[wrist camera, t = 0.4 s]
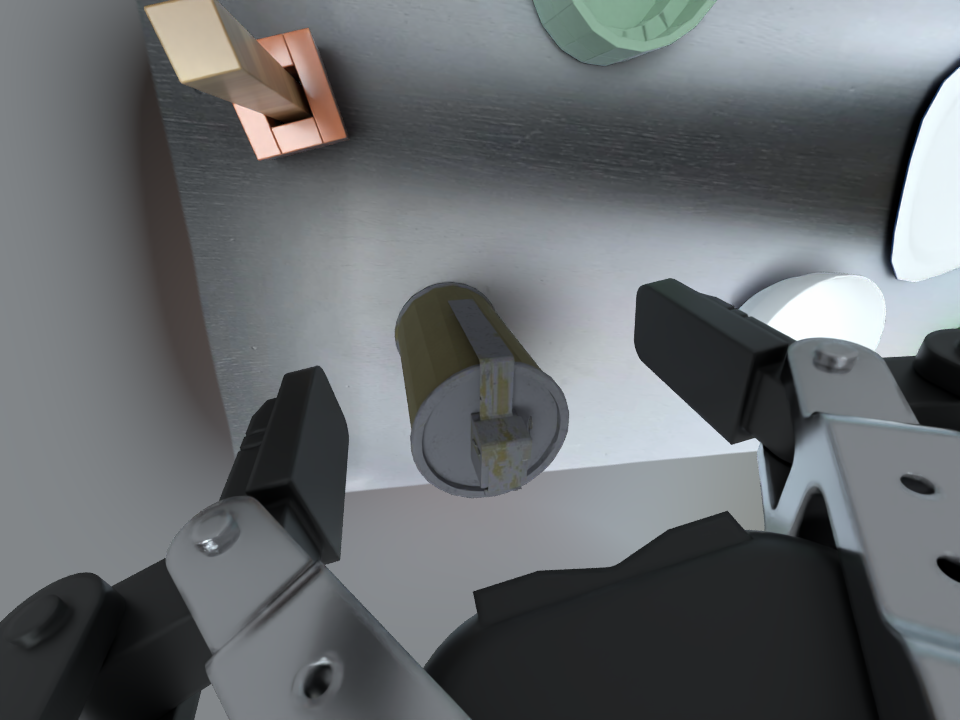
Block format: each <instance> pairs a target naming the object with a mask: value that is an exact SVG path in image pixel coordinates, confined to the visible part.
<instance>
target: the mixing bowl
mask: <svg viewBox="0 0 960 720" xmlns="http://www.w3.org/2000/svg"><path fill="white" fill-rule="evenodd" d="M716 1H717V0H533V2H534V5H535V7H536V10H537V13H538V15H539V18H540V20H541V23H542V25H543V27H544V28H545V29H546V31H547V32H548V33H549V34H550V36H551V37H552V38H553V40H554V41H555V42H556V44H557V45H558V46H559V47H560V48H561V49H562V50H563V51H565V52H566V53H568V54H569V55H571V56H573V57H574V58H576V59H577V60H579V61H580V62H583V63H589V64H595V65H602V66H608V65H611V64H615V63H619V62H623V61H627V60H630V59H633V58H635V57H638V56H641V55H644V54H646V53H649V52H652V51H655V50H657V49H660V48H663V47H666V46H668V45H671V44H672V43H673V42H675V41H676V40H678V39H679V38H681V37H682V36H683V35H685V34H686V33H688V32H689V31H691V30H692V29H693V28H695V27H696V26H697V24H698V23H699V22H700V21H701V20H702V18H703V17H704V16H705V15H706V13H707V12H708V11H709V10H710V8H711V7H712V6H713V5H714V3H715V2H716Z"/></svg>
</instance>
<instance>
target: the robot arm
mask: <svg viewBox="0 0 960 720" xmlns="http://www.w3.org/2000/svg"><path fill="white" fill-rule="evenodd" d="M634 344H635V349H636V352H637V354H638V356H639V358H640V359H641V361H642V362H643V363H644V364H645V365H646V366H647V367H648V368H649V369H651V370H652V371H653V372H654V373H655V374H656V375H657V376H658V377H659V378H660V379H661V380H662V381H663V382H665V383H666V384H667V385H668V386H669V387H670V388H671V389H672V390H673V391H674V392H675V393H676V394H677V395H679V396H680V397H681V398H682V399H683V400H684V401H685V402H686V403H687V404H688V405H689V406H690V407H691V408H692V409H694V410H695V411H696V412H697V413H698V414H699V415H700V416H701V417H702V418H703V419H704V420H705V421H706V422H708V423H709V424H710V425H711V426H712V427H713V428H714V429H715V430H716V431H717V432H718V433H719V434H720V435H722V436H723V437H724V438H725V439H726V440H727V441H728V442H729V443H730V444H731V445H732V444H736V443H739V442H742V441H746V440H749V439H752V438H756V439H757V440H758V441H760V445H759V448H758V451H757V459H758V468H759V477H760V486H761V495H762V504H763V512H764V522H765V531H755V530H744V529H743V528H742V527H741V526H740V524H738V522H737V521H736V520H735V519H734V518H733V517H732V515H731V514H730V513H729V512H728V511H725V512H722V513H719V514H716V515H713V516H710V517H707V518H703V519H700V520H697V521H694V522H691V523H688V524H685V525H681V526H678V527H675V528H672V529H669V530H667V531H666V532H664V533H663V534H661V535H660V536H658V537H657V538H655V539H654V540H652V541H651V542H649V543H648V544H647V545H645V546H644V547H642V548H641V549H639V550H638V551H636V552H635V553H633V554H632V555H631V556H629V557H628V558H626V559H625V560H623V561H622V562H621V563H619V564H617V565H615V566H612V567H606V568H586V569H565V570H545V571H536V572H534V573H530V574H527V575H524V576H521V577H517V578H514V579H511V580H508V581H505V582H502V583H499V584H495V585H492V586H489V587H486V588H483V589H480V590H477V591H474V592H473V594H474V599H475V604H476V609H477V614H475V615H474V616H472V617H471V618H469V619H468V620H467V621H465V622H464V623H463V624H461V625H460V626H459V627H458V628H457V629H456V630H455V631H453V632H452V633H451V634H450V635H449V636H448V637H447V638H446V639H445V641H444V642H443V643H442V644H441V645H440V646H439V647H438V648H437V650H436V651H435V652H434V654H433V655H432V656H431V658H430V659H429V660H428V662H427V663H426V664H425V666H424V668H422V667H421V666H420V665H419V664H418V663H417V662H416V661H415V660H414V658H413V657H412V656H411V655H410V654H409V653H408V652H407V651H406V650H405V649H404V648H403V647H402V646H401V645H400V644H399V643H398V642H397V641H396V639H395V638H394V637H393V636H392V635H391V634H390V633H389V632H388V631H387V630H386V629H385V628H384V627H383V626H382V625H381V624H380V623H379V622H378V620H377V619H376V618H375V617H374V616H373V615H372V614H371V613H370V612H369V611H368V610H367V609H366V608H365V607H364V606H363V605H362V604H361V603H360V602H359V601H358V599H356V598H355V596H354V595H353V594H352V593H351V592H350V591H349V590H348V589H347V588H346V587H345V586H344V585H343V584H342V583H341V582H340V581H339V579H338V578H337V577H336V576H335V575H334V574H333V573H332V572H331V571H330V570H329V569H328V568H327V567H326V566H325V565H326V564H329V563H333V562H336V561H339V560H340V554H341V553H340V552H341V540H342V527H343V513H344V499H345V486H346V472H347V459H348V445H349V434H348V428H347V424H346V420H345V417H344V415H343V412H342V410H341V408H340V406H339V404H338V401H337V399H336V397H335V395H334V392H333V390H332V388H331V386H330V384H329V381H328V379H327V377H326V375H325V373H324V371H323V369H322V368H321V367H320V366H314V367H310V368H306V369H302V370H298V371H294V372H290V373H287V374H285V375H284V377H283V380H282V383H281V386H280V389H279V392H278V395H277V398H273V399H269V400H267V401H266V402H265V403H264V404H263V405H262V406H261V408H260V409H259V410H258V411H257V412H256V413H255V414H254V415H253V416H252V419H251V421H250V424H249V426H248V429H247V431H246V437H244V439H243V441H242V444H241V446H240V449H241V451H239V452H238V454H237V457H236V459H235V462H234V464H233V467H232V470H231V472H230V474H229V477H228V479H227V482H226V484H225V487H224V489H223V492H222V495H221V497H220V500H219V502H216V503H214V504H212V505H211V506H209V507H207V508H205V509H204V510H203V511H201V512H199V513H198V514H197V515H195V516H194V517H193V518H192V519H191V520H190V521H188V522H187V523H186V524H185V525H184V526H183V527H182V528H181V529H180V531H179V532H178V533H177V535H176V536H175V537H174V539H173V540H172V542H171V544H170V546H169V548H168V551H167V554H166V558H164V559H163V560H161V561H159V562H157V563H155V564H153V565H151V566H149V567H148V568H146V569H144V570H142V571H140V572H138V573H136V574H134V575H132V576H130V577H129V578H127V579H125V580H123V581H121V582H119V583H117V584H115V585H113V586H112V587H111V586H110V585H109V584H107V583H106V582H105V581H104V580H103V579H101V578H100V577H99V576H97V575H96V574H93V573H78V574H74V575H70V576H68V577H65V578H62V579H60V580H58V581H56V582H54V583H51V584H50V585H48V586H46V587H45V588H43V589H41V590H39V591H38V592H36V593H35V594H34V595H32V596H31V597H29V598H28V599H26V600H25V601H24V602H23V603H21V604H20V605H19V606H17V608H15V609H14V610H13V611H12V612H11V613H9V614H8V615H7V616H6V617H5V618H4V619H3V620H2V621H1V622H0V720H194V718H195V714H196V710H197V706H198V702H199V698H200V694H201V690H202V689H204V688H206V687H207V686H209V685H210V684H212V686H213V688H214V690H215V692H216V694H217V696H218V698H219V700H220V702H221V704H222V706H223V708H224V710H225V712H226V714H227V716H228V718H229V720H960V329H944V330H938V331H934V332H932V333H930V334H928V335H927V336H926V337H925V339H924V341H923V343H922V345H921V347H920V349H919V351H918V353H917V355H916V356H906V357H887V358H882V357H881V356H880V355H879V354H877V353H876V352H874V351H873V350H871V349H869V348H867V347H865V346H862V345H860V344H857V343H853V342H850V341H846V340H841V339H835V338H824V337H816V338H806V339H801V340H798V341H796V340H794V339H793V338H791V337H789V336H787V335H785V334H783V333H782V332H780V331H778V330H776V329H774V328H772V327H770V326H769V325H767V324H765V323H763V322H761V321H759V320H758V319H756V318H754V317H752V316H750V317H748V314H746V313H745V312H743V311H741V310H739V309H734V306H732V305H730V304H728V303H726V302H724V301H722V300H721V299H719V298H717V297H713V296H709V295H706V294H702V293H698V292H697V291H695V290H693V289H691V288H689V287H688V286H686V285H684V284H682V283H681V282H679V281H677V280H675V279H672V278H669V279H665V280H661V281H657V282H653V283H649V284H645V285H642V286H640V287H639V289H638V291H637V296H636V313H635V332H634Z"/></svg>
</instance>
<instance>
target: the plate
mask: <svg viewBox="0 0 960 720" xmlns="http://www.w3.org/2000/svg"><path fill="white" fill-rule="evenodd" d="M890 262H891V265H892V268H893V271H894V274H895V277H896V279H900V280H905V281H910V282H918V281H921V280H925V279H928V278H932V277H936V276H939V275H941V274H944V273H946V272H949V271H951V270H954V269H956V268H959V267H960V66H959V67H958V68H956V69H955V70H954V71H953V72H952V73H951V74H950V75H949V76H948V77H947V78H946V79H945V80H944V81H943V82H942V83H941V85H940V87H939V88H938V90H937V92H936V94H935V96H934V98H933V99H932V101H931V103H930V105H929V107H928V109H927V110H926V112H925V114H924V116H923V118H922V119H921V122H920V125H919V129H918V132H917V135H916V138H915V141H914V144H913V148H912V151H911V154H910V157H909V161H908V165H907V169H906V174H905V178H904V182H903V187H902V191H901V195H900V200H899V205H898V210H897V215H896V220H895V225H894V230H893V238H892V248H891V258H890Z"/></svg>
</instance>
